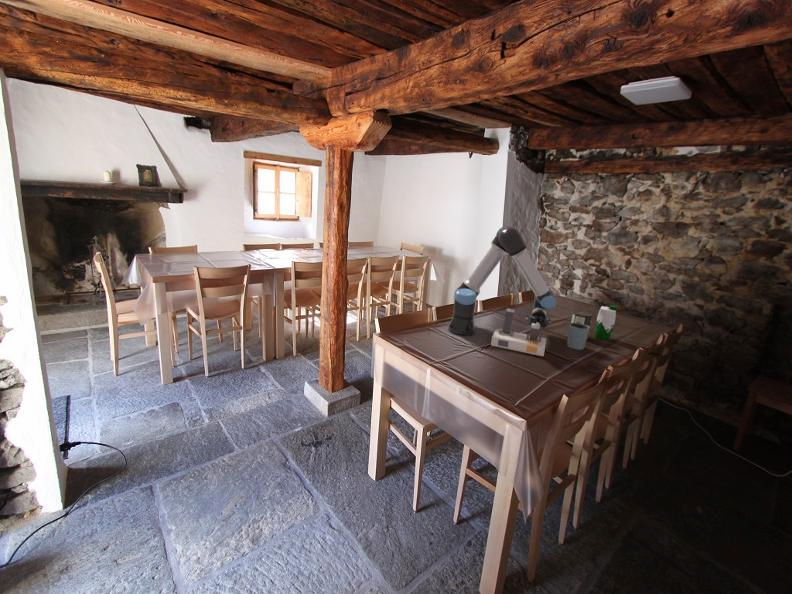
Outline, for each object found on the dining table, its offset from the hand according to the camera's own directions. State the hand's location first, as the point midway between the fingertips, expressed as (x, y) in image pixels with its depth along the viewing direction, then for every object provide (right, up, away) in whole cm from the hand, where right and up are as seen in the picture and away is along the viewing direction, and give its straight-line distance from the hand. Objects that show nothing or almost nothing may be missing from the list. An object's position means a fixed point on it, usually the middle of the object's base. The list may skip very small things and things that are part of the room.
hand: (536, 328), depth 193 cm
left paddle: (-12, -3, +11) cm, 17 cm away
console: (-7, -10, +9) cm, 15 cm away
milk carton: (+50, -8, +32) cm, 60 cm away
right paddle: (0, -5, +4) cm, 7 cm away
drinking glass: (+26, -11, +15) cm, 32 cm away
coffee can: (+36, -7, +32) cm, 49 cm away
